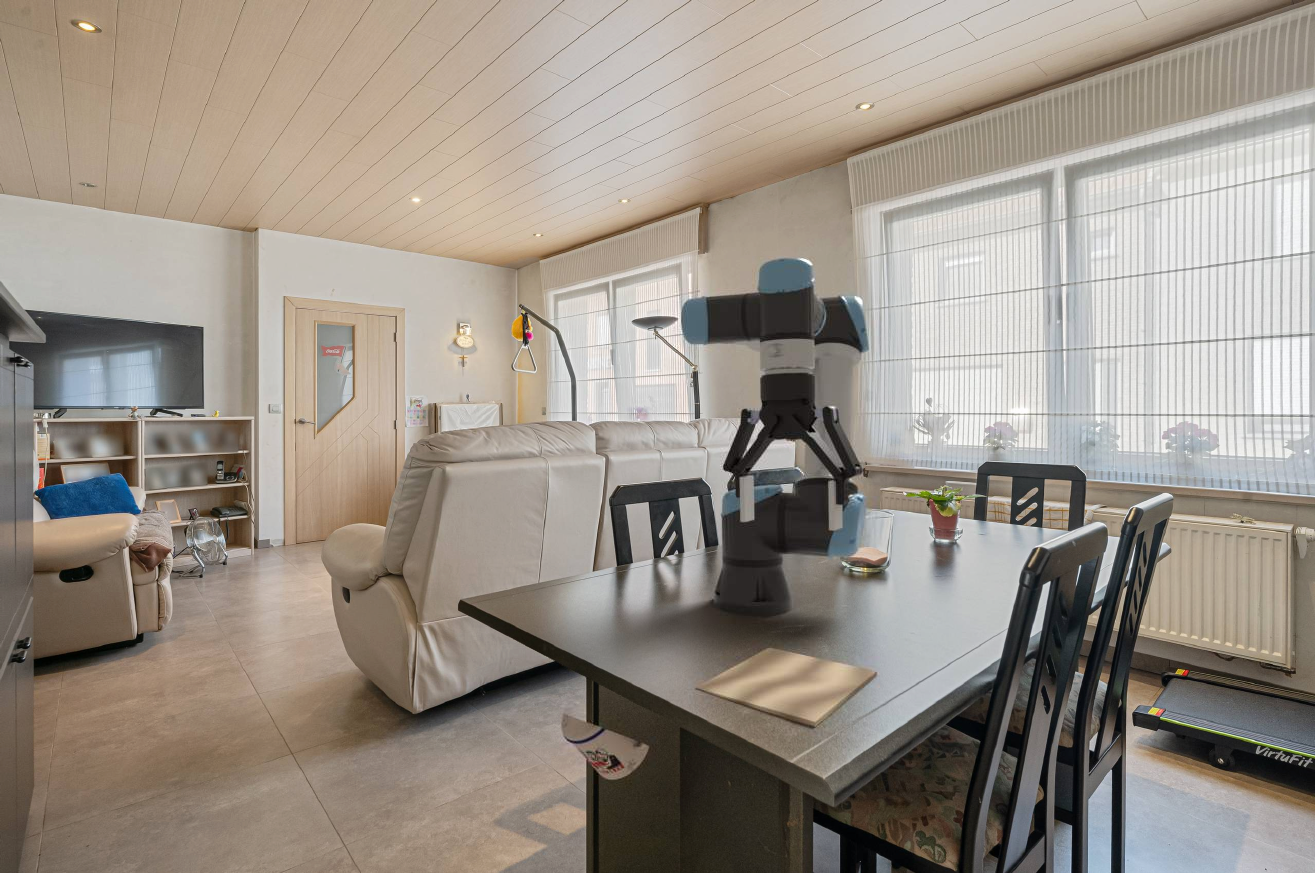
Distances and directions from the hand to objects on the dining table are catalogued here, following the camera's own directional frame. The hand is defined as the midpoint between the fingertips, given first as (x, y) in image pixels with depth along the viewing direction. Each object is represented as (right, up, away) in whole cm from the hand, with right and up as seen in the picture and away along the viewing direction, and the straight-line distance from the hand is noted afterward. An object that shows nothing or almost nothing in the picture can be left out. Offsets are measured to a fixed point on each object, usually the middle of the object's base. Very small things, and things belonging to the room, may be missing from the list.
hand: (789, 524), depth 91 cm
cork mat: (-1, -21, -3) cm, 21 cm away
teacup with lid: (-22, -31, -3) cm, 38 cm away
